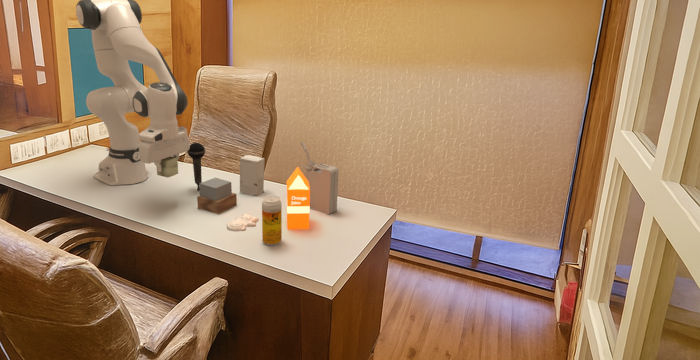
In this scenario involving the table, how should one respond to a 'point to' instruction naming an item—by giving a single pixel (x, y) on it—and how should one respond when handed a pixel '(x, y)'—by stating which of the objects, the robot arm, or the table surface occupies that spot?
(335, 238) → the table surface
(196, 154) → the microphone
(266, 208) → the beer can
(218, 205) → the walnut base block
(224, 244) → the table surface
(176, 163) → the sage cube
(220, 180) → the slate top block
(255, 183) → the skincare box
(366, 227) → the table surface
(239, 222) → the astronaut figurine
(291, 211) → the orange juice
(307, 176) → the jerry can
